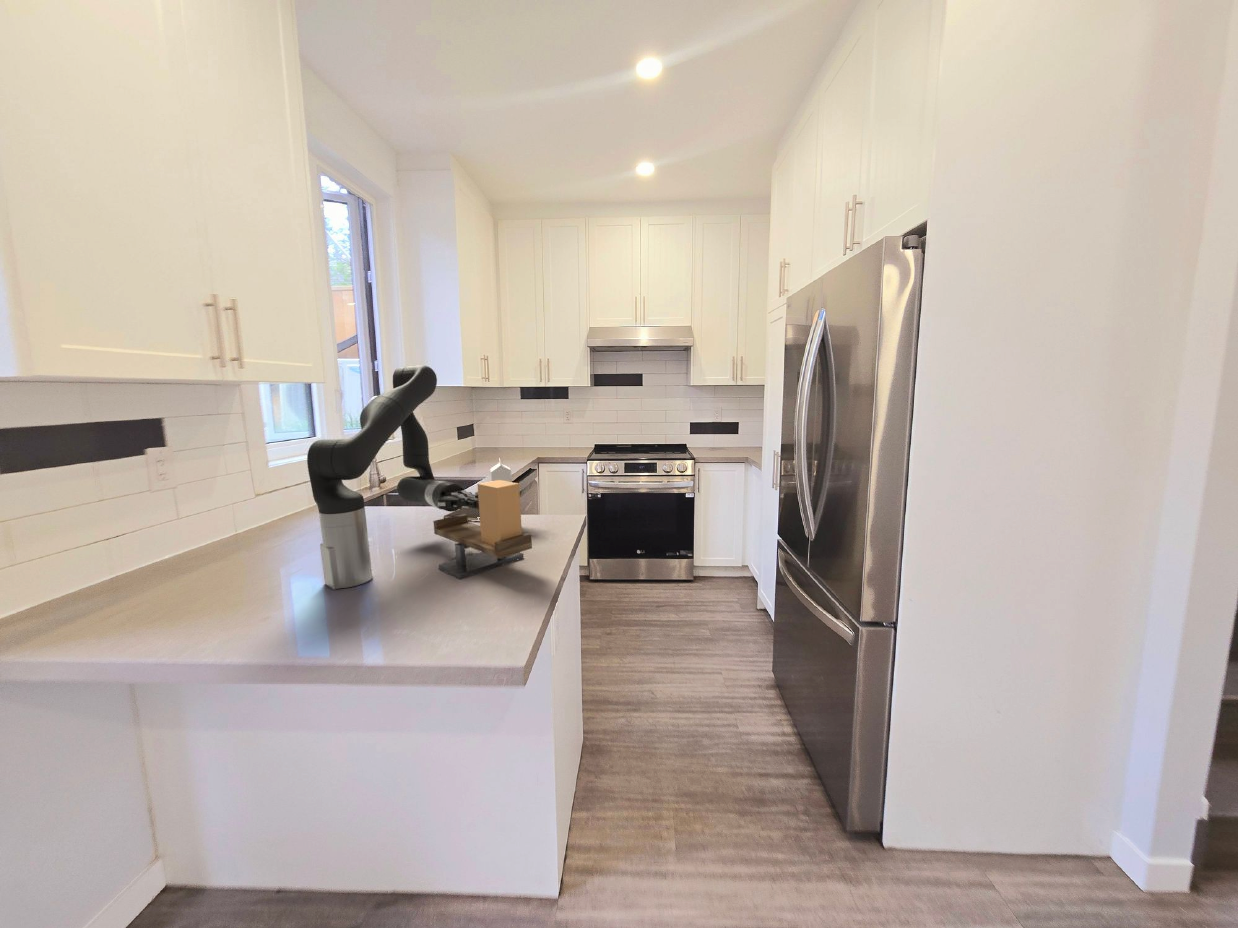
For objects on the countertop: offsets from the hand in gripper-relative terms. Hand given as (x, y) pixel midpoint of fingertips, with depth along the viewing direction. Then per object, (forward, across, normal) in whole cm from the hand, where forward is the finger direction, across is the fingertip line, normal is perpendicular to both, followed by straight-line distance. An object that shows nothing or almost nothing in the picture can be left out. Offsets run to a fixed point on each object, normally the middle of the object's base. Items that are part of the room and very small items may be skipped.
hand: (479, 504), depth 122 cm
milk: (-24, +22, +16) cm, 36 cm away
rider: (+8, 0, +8) cm, 11 cm away
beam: (-1, 0, +9) cm, 9 cm away
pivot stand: (-1, 0, +15) cm, 15 cm away
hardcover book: (-47, +29, +16) cm, 58 cm away
